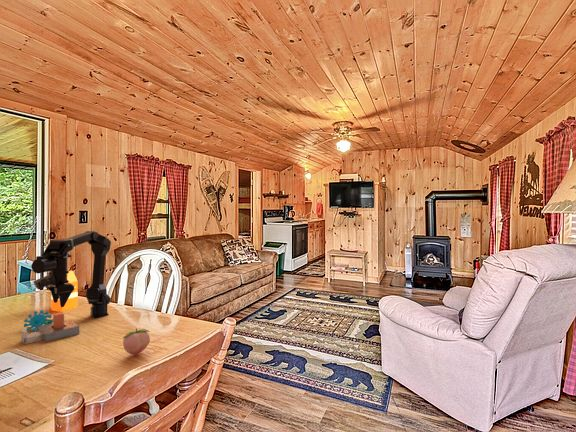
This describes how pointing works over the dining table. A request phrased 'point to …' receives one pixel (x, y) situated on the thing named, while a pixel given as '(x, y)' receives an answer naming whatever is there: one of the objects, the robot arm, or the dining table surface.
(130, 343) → the decorative fruit
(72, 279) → the orange juice
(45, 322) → the gear
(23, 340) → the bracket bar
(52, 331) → the grey square hole block
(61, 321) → the terracotta rectangular prism
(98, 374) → the dining table surface
